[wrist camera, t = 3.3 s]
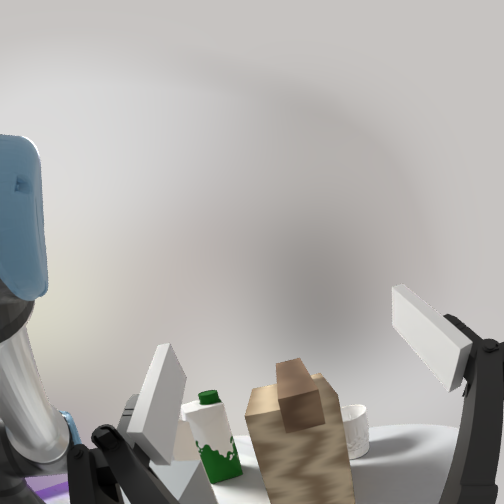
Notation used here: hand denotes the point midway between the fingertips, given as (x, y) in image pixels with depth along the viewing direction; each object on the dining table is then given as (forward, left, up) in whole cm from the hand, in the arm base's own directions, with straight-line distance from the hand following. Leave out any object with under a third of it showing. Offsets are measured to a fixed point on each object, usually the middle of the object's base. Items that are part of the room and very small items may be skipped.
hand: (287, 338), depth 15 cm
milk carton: (-19, +39, -32) cm, 54 cm away
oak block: (-1, +26, -32) cm, 41 cm away
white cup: (+9, +37, -32) cm, 50 cm away
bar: (0, +21, -11) cm, 24 cm away
